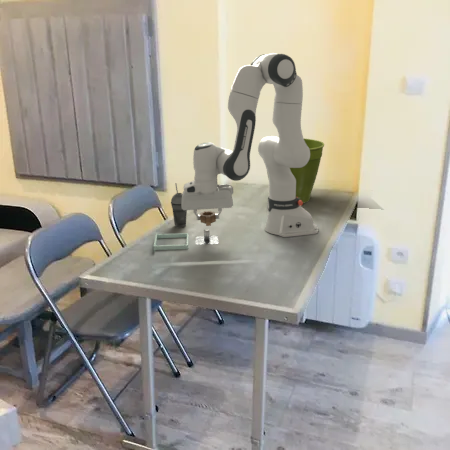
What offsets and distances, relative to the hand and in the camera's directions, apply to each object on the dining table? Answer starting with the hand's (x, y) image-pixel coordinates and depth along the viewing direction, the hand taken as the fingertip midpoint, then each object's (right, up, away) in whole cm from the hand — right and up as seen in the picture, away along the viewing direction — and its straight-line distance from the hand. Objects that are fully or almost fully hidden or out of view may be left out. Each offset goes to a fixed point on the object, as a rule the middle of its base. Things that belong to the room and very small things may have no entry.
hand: (208, 219), depth 207 cm
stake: (-1, -9, +3) cm, 10 cm away
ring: (0, -1, -1) cm, 2 cm away
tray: (-14, -10, 0) cm, 18 cm away
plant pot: (+40, +10, +57) cm, 71 cm away
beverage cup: (-13, -4, +19) cm, 23 cm away
